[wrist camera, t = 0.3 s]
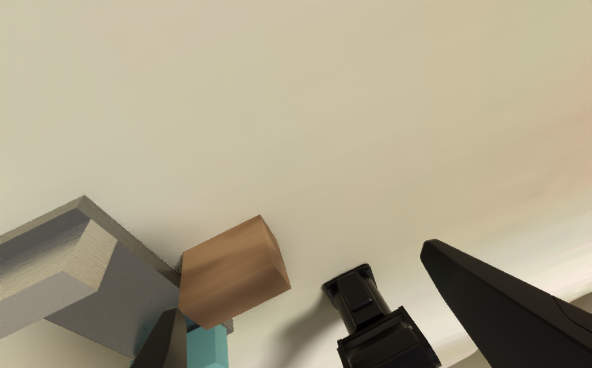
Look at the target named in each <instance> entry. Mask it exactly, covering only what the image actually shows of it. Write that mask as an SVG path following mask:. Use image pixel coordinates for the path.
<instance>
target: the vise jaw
mask: <svg viewBox="0 0 592 368" xmlns="http://www.w3.org/2000/svg"><path fill="white" fill-rule="evenodd" d="M133 361H134V360H133ZM133 361H131V362H130V366H131V364H132V363H133ZM129 368H130V367H129ZM187 368H229V365H228V349H227V332H226V328H225V327H223V326H222V325H221V324H219V325H217V326H215V327H213V328H211V329H209V330H205V329H204V328H203V327H199V328H197V329H195V330H193V331H191V332H189V333H187Z"/></svg>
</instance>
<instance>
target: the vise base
mask: <svg viewBox="0 0 592 368" xmlns="http://www.w3.org/2000/svg"><path fill="white" fill-rule="evenodd" d="M180 282H181V276H180V275H179V274H178V273H176V272H175V271H174V270H173V269H172V268H171V267H169V266H168V265H167V264H166V263H165V262H163V261H162V260H161V259H160V258H159V257H157V256H156V255H155V254H154V253H153V252H151V251H150V250H149V249H148V248H147V247H146V246H144V245H143V244H142V243H141V242H140V241H138V240H137V239H136V238H135V237H134V236H132V235H131V234H130V233H129V232H128V231H127V230H125V229H124V228H123V227H122V226H121V225H119V224H118V223H117V222H116V221H115V220H113V219H112V218H111V217H110V216H109V215H107V214H106V213H105V212H104V211H103V210H102V209H100V208H99V207H98V206H97V205H96V204H94V203H93V202H92V201H91V200H90V199H88V198H87V197H86V196H85V195H83V196H81V197H79V198H77V199H75V200H73V201H71V202H69V203H67V204H65V205H63V206H61V207H59V208H57V209H55V210H53V211H51V212H49V213H47V214H45V215H43V216H40V217H38V218H36V219H34V220H32V221H30V222H28V223H26V224H24V225H22V226H20V227H18V228H16V229H14V230H12V231H10V232H8V233H6V234H4V235H2V236H0V339H2V338H4V337H6V336H8V335H10V334H12V333H14V332H16V331H18V330H20V329H22V328H24V327H26V326H28V325H30V324H32V323H34V322H36V321H38V320H40V319H42V318H44V319H46V320H48V321H51V322H53V323H55V324H57V325H59V326H62V327H64V328H66V329H68V330H71V331H73V332H75V333H77V334H79V335H82V336H84V337H86V338H88V339H90V340H93V341H95V342H97V343H99V344H102V345H104V346H106V347H108V348H110V349H113V350H115V351H117V352H119V353H121V354H124V355H126V356H128V357H130V358H133V359H135V357H136V356H137V354H138V352H139V351H140V349H141V347H142V346H143V344H144V342H145V340H146V339H147V337H148V335H149V334H150V332H151V330H152V329H153V327H154V325H155V324H156V322H157V320H158V318H159V317H160V315H161V313H162V312H163V311H164V310H165V309H168V308H172V307H178V302H179V292H180ZM182 315H183V317H184V319H185V321H186V330H187V333H189V332H191V331H193V330H195V329H197V328H199V327H201V326H200V325H198V324H197V323H195V322H194V321H193V320H191V319H190V318H188V317H187V316H186V315H184V314H183V313H182ZM221 325H222V326H223V327H225V328H226V332H227V335H228V334H230V333H232V332H234V330H233V320H232V319H229V320H227V321H225V322H223V323H221Z"/></svg>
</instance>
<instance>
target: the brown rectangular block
mask: <svg viewBox="0 0 592 368" xmlns="http://www.w3.org/2000/svg"><path fill="white" fill-rule="evenodd" d="M289 289H291V286H290V282H289V279H288V276H287V272H286V269H285V266H284V262H283V259H282V256H281V253H280V249H279V246H278V243H277V240H276V238H275V236H274V235H273V233H272V232H271V230H270V229H269V227H268V226H267V224H266V223H265V221H264V220H263V218H262V217H261V215H258V216H256V217H254V218H252V219H250V220H248V221H246V222H244V223H242V224H240V225H238V226H236V227H234V228H232V229H229V230H227V231H225V232H223V233H221V234H219V235H217V236H215V237H213V238H211V239H209V240H207V241H205V242H203V243H201V244H199V245H197V246H195V247H193V248H191V249H189V250H187V251H185V252H183V262H182V272H181V282H180V292H179V302H178V308H179V309H180V311H181V313H183V314H184V315H186V316H187V317H188V318H190V319H191V320H193V321H194V322H195V323H197V324H198V325H200V326H201V327H203V328H204V329H205V330H209V329H211V328H213V327H215V326H217V325H219V324H221V323H223V322H225V321H227V320H229V319H231V318H233V317H235V316H237V315H239V314H241V313H243V312H245V311H247V310H249V309H251V308H253V307H255V306H257V305H259V304H261V303H263V302H265V301H267V300H269V299H271V298H273V297H275V296H277V295H279V294H281V293H283V292H285V291H287V290H289Z"/></svg>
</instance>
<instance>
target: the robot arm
mask: <svg viewBox="0 0 592 368" xmlns="http://www.w3.org/2000/svg"><path fill="white" fill-rule="evenodd" d="M420 259H421V261H422V263H423V265H424V267H425V268H426V270H427V272H428V274H429V275H430V277H431V279H432V281H433V282H434V284H435V286H436V288H437V289H438V291H439V293H440V294H441V296H442V297H443V299H444V300H445V302H446V303H447V305H448V306H449V308H450V309H451V310H452V312H453V313H454V315H455V316H456V318H457V319H458V320H459V322H460V323H461V325H462V326H463V327H464V329H465V330H466V332H467V333H468V334H469V336H470V337H471V339H472V340H473V341H474V343H475V344H476V346H477V347H478V349H479V350H480V351H481V353H482V354H483V356H484V357H485V358H486V360H487V361H488V363H489V364H490V365H491V367H492V368H592V314H591V313H589V312H586V311H584V310H582V309H580V308H578V307H576V306H574V305H572V304H570V303H567V302H565V301H563V300H561V299H559V298H557V297H555V296H553V295H550V294H549V293H547V292H545V291H543V290H541V289H538V288H536V287H534V286H532V285H530V284H528V283H526V282H524V281H522V280H520V279H518V278H516V277H514V276H512V275H510V274H508V273H505V272H503V271H501V270H499V269H497V268H495V267H493V266H491V265H489V264H487V263H485V262H483V261H481V260H479V259H477V258H475V257H473V256H470V255H468V254H466V253H464V252H462V251H460V250H458V249H456V248H454V247H452V246H450V245H448V244H446V243H444V242H442V241H440V240H437V239H431V240H427V241H425V242H424V244H423V247H422V251H421V254H420ZM324 289H325V291H326V293H327V295H328V296H329V298H330V300H331V301H332V303H333V305H334V307H335V308H336V309H337V310H339V313H340V315H341V317H342V319H343V322H344V324H345V326H346V328H347V331H348V333H349V336H347V337H345V338H343V339H340V340H338V341H337V343H338V346H339V347H338V348H337V351H338V353H339V356H340V358H341V361H342V364H343V368H439V367H441V366H442V365H441V362H440V361H439V359H438V357H437V355H436V354H435V352H434V350H433V349H432V347H431V346H430V344H429V342H428V341H427V339H426V338H425V337H424V335H423V334H422V332H421V331H420V329H419V328H418V327H417V325H416V324H415V323H414V321H413V320H412V318H411V317H410V316H409V314H408V313H407V311H406V310H405V309H404V307H403V306H400V307H398V309H397V310H395V311H393V312H391V310H390V309H389V307H388V305H387V304H386V302H385V301H384V299H383V297H382V296H381V294H380V292H379V291H378V289H377V285H376V282H375V279H374V276H373V273H372V270H371V267H370V266H369V264H364V265H362V266H360V267H358V268H356V269H354V270H352V271H350V272H348V273H346V274H344V275H342V276H340V277H338V278H336V279H334V280H332V281H330V282H328V283H326V284H325V285H324ZM130 368H187V330H186V321H185V319H184V317H183V315H182V313H181V311H180V309H179V308H178V307H172V308H168V309H165V310H164V311H163V312H162V313H161V315H160V317H159V318H158V320H157V322H156V324H155V325H154V327H153V329H152V330H151V332H150V334H149V335H148V337H147V339H146V340H145V342H144V344H143V346H142V347H141V349H140V351H139V352H138V354H137V356H136V357H135V359H134V361H133V363H132V364H131V366H130Z"/></svg>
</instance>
